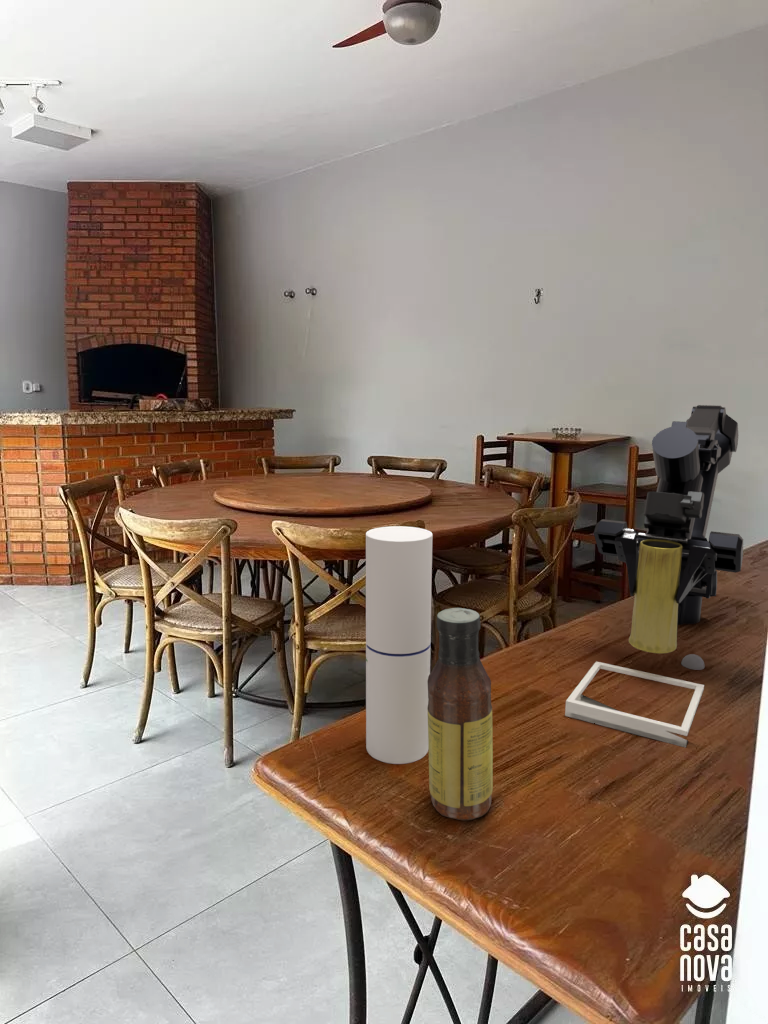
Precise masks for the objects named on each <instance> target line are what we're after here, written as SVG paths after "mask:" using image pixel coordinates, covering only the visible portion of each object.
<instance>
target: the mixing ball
mask: <svg viewBox="0 0 768 1024" xmlns="http://www.w3.org/2000/svg"><path fill="white" fill-rule="evenodd" d="M680 664H681V666H682V667H684V668H686V669H689V670H695V671H696V670H697V671H702V670H704V669H705V662H704V659H703V658H702V657H701V656H700V655H697V654H694V653H691V654H690V653H689V654H687V655H684V657H683V658H682V660H681V663H680Z"/></svg>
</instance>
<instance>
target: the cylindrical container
mask: <svg viewBox="0 0 768 1024" xmlns="http://www.w3.org/2000/svg"><path fill="white" fill-rule="evenodd" d="M433 536H434V535H433V533H432V531H430V530H428V529H425V528H420V527H415V526H405V525H403V526H400V525H393V526H391V525H390V526H389V525H388V526H381V527H374V528H372V529H369V530H367V531H366V532H365V721H366V722H365V732H366V733H365V744H366V745H365V747H366V752H367V753H368V754H369V756H371V757H372V758H373V759H375V760H377V761H378V762H379V761H380V762H383V763H385V764H393V765H404V764H411V763H414V762H416V761H419V760H421V759H423V758H424V757H425V756H426V755H427V754H428V753H429V747H428V709H427V708H428V677H429V675H430V673H431V650H432V649H431V642H432V641H431V640H432V638H431V637H432V634H431V633H432V585H433V584H432V583H433V582H432V578H433V576H432V574H433V569H432V568H433Z"/></svg>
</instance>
